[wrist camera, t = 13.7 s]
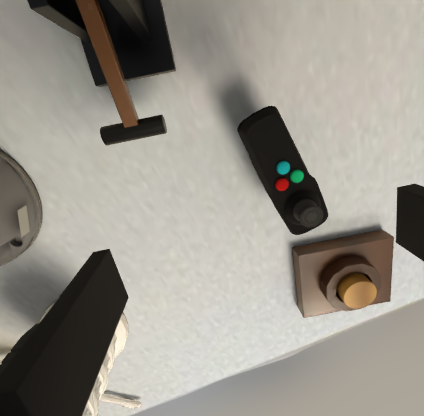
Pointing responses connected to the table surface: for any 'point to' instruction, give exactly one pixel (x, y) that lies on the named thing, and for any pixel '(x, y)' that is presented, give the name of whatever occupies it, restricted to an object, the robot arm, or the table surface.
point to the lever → (116, 82)
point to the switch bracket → (119, 34)
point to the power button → (356, 290)
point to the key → (121, 401)
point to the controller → (282, 171)
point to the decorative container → (105, 365)
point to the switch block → (341, 270)
